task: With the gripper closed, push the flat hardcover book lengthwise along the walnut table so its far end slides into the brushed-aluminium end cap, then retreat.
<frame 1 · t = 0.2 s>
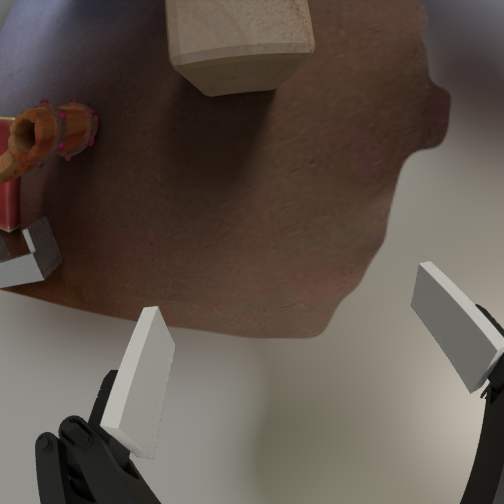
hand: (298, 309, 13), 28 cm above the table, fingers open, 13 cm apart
end cap: (26, 244, 39), on the table
hardcover book: (5, 168, 33), on the table
wooden block: (237, 60, 30), on the table
mug: (71, 137, 32), on the table
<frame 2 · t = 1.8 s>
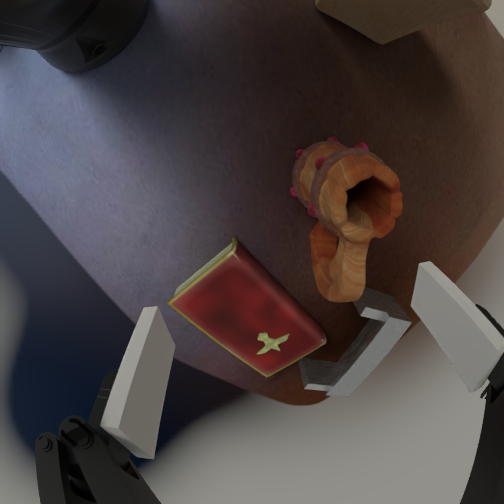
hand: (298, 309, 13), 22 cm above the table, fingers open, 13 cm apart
end cap: (342, 331, 43), on the table
hardcover book: (252, 308, 40), on the table
wooden block: (358, 4, 21), on the table
mug: (315, 192, 32), on the table
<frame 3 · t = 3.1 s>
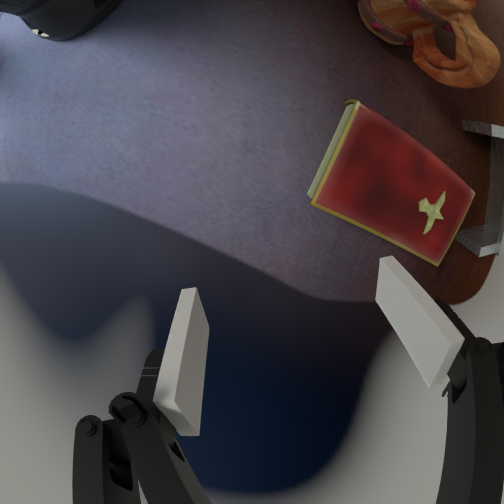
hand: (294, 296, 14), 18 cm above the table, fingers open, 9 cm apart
end cap: (477, 181, 28), on the table
hardcover book: (393, 185, 30), on the table
mug: (387, 36, 21), on the table
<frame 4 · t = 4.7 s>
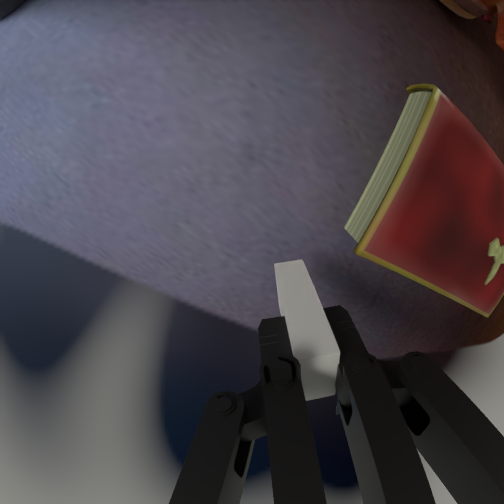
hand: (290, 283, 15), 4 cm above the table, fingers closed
hardcover book: (454, 215, 19), on the table
mug: (449, 6, 9), on the table
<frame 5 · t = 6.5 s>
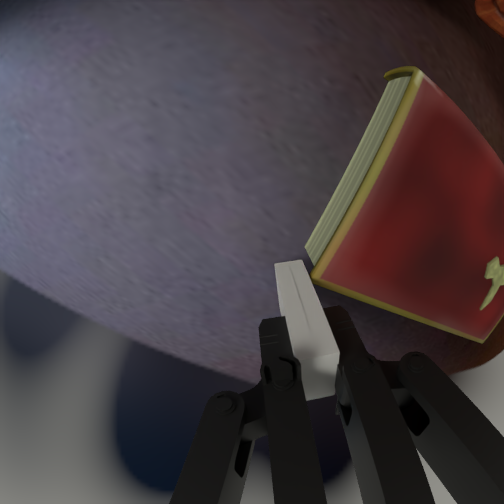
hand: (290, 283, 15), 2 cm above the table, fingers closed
hardcover book: (446, 228, 16), on the table
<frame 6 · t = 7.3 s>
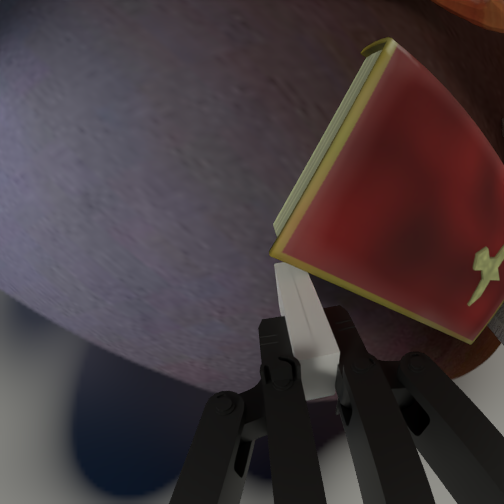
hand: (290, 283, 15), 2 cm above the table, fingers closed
hardcover book: (432, 216, 16), on the table, touching gripper
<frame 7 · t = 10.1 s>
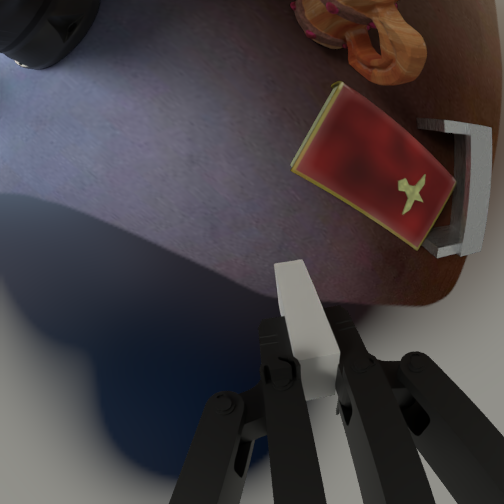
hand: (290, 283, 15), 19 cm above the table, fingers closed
end cap: (438, 180, 31), on the table
hardcover book: (375, 167, 31), on the table
mug: (330, 40, 24), on the table
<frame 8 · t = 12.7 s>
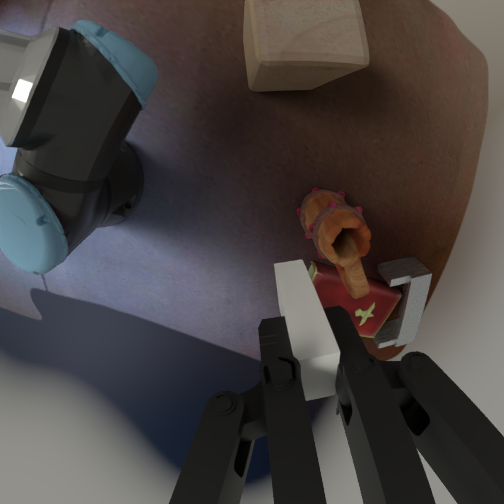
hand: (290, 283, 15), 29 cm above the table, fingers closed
end cap: (389, 296, 53), on the table
hardcover book: (343, 296, 53), on the table
wooden block: (278, 61, 33), on the table
mug: (322, 222, 45), on the table
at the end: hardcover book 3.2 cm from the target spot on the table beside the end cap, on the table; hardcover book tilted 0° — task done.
